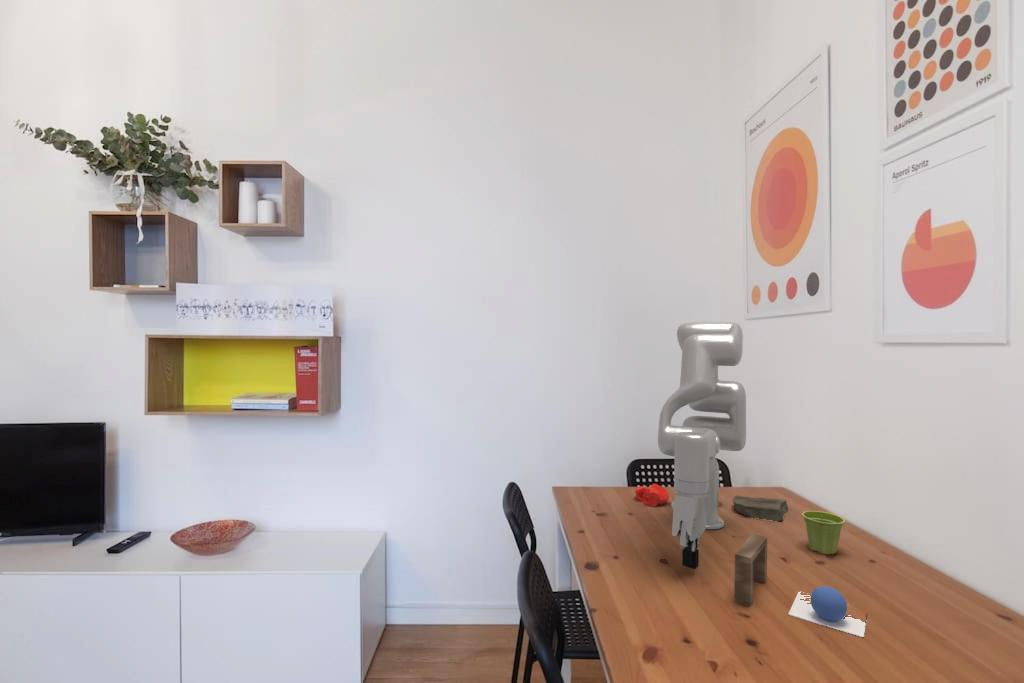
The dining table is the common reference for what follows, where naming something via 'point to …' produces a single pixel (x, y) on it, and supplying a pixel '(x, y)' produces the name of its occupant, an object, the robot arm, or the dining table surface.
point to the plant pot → (823, 531)
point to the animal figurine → (652, 495)
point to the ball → (828, 603)
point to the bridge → (750, 568)
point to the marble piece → (761, 507)
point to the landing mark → (807, 613)
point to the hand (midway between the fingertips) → (690, 566)
